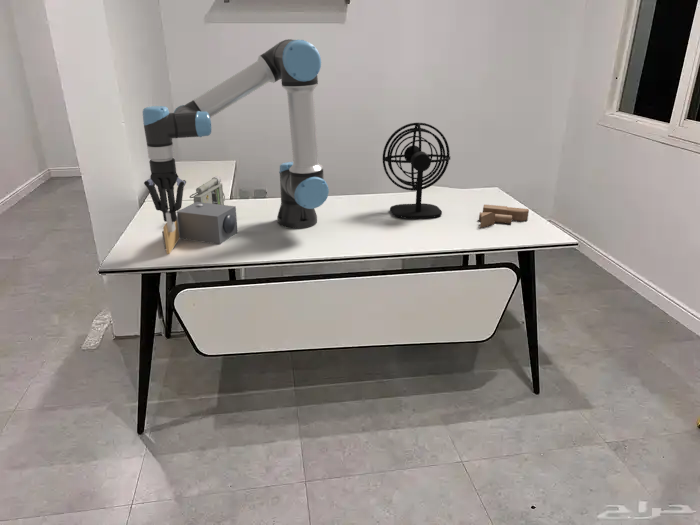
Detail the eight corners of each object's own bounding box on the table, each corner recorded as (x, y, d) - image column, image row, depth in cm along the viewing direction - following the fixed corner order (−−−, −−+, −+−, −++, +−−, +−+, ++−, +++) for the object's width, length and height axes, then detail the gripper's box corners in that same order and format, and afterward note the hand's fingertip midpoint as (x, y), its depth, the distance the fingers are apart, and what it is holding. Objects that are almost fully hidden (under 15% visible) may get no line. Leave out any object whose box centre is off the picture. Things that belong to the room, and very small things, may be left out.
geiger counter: (202, 188, 199) (229, 172, 222) (186, 187, 200) (214, 171, 223) (205, 224, 205) (232, 205, 227) (190, 223, 206) (217, 204, 228)
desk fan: (442, 204, 229) (448, 119, 215) (454, 218, 213) (462, 127, 199) (378, 207, 226) (381, 120, 212) (386, 220, 210) (389, 128, 196)
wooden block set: (482, 201, 216) (529, 205, 211) (480, 215, 218) (527, 219, 213) (478, 214, 201) (529, 218, 196) (476, 228, 203) (527, 233, 198)
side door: (170, 253, 177) (166, 227, 173) (165, 254, 176) (161, 227, 173) (180, 237, 190) (177, 212, 187) (175, 237, 190) (172, 212, 187)
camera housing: (240, 233, 196) (237, 205, 192) (222, 244, 186) (219, 215, 182) (199, 227, 201) (196, 200, 197) (180, 238, 191) (176, 209, 187)
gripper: (186, 156, 170) (195, 227, 180) (146, 155, 171) (157, 226, 181) (178, 161, 164) (187, 235, 173) (136, 161, 164) (147, 234, 174)
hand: (171, 230), depth 177 cm, fingers closed
